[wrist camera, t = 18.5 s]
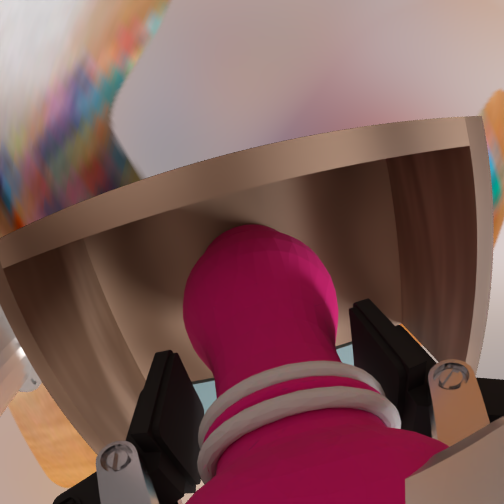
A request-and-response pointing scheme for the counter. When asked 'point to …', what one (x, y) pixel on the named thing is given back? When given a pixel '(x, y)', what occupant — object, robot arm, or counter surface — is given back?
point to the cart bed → (250, 213)
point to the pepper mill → (287, 384)
